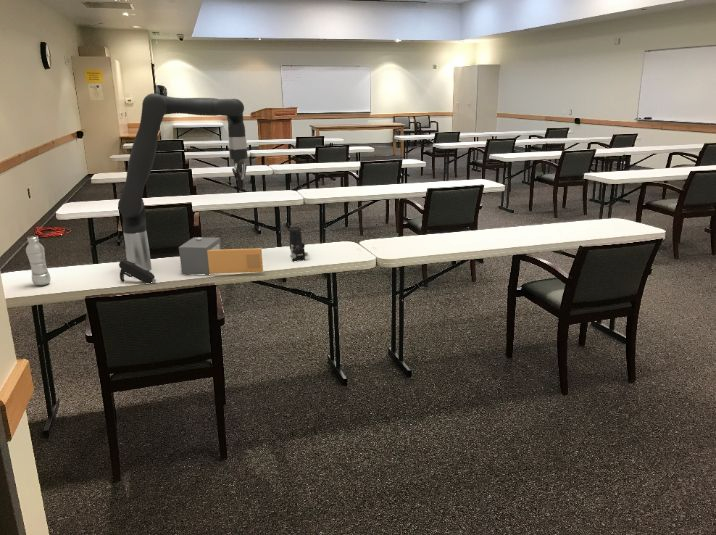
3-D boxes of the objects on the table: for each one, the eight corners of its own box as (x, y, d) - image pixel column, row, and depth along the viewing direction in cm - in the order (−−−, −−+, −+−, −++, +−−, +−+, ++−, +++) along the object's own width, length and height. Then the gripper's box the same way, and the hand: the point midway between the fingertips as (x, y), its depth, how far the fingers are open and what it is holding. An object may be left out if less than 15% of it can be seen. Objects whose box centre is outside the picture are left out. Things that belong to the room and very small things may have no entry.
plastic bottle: (44, 287, 222) (34, 239, 216) (29, 287, 223) (19, 238, 217) (55, 282, 228) (46, 234, 222) (40, 281, 229) (30, 234, 223)
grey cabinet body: (178, 274, 235) (174, 245, 231) (193, 263, 250) (190, 235, 246) (209, 275, 234) (206, 245, 230) (222, 263, 249) (220, 235, 245)
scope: (289, 232, 245) (283, 227, 254) (291, 262, 249) (285, 256, 258) (307, 230, 248) (301, 225, 257) (308, 259, 252) (302, 254, 261)
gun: (147, 297, 226) (155, 276, 223) (113, 278, 226) (120, 257, 223) (151, 294, 229) (159, 274, 225) (117, 275, 229) (124, 255, 226)
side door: (210, 273, 233) (207, 250, 230) (263, 271, 234) (261, 248, 231) (209, 274, 232) (206, 251, 229) (262, 272, 233) (261, 249, 230)
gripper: (234, 146, 245) (237, 185, 250) (224, 149, 232) (227, 190, 238) (251, 146, 244) (253, 185, 249) (241, 149, 232) (244, 190, 237)
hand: (241, 187), depth 244 cm, fingers closed
